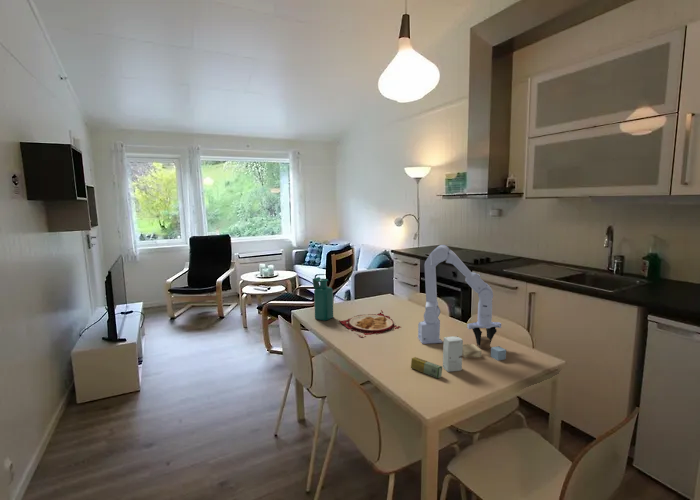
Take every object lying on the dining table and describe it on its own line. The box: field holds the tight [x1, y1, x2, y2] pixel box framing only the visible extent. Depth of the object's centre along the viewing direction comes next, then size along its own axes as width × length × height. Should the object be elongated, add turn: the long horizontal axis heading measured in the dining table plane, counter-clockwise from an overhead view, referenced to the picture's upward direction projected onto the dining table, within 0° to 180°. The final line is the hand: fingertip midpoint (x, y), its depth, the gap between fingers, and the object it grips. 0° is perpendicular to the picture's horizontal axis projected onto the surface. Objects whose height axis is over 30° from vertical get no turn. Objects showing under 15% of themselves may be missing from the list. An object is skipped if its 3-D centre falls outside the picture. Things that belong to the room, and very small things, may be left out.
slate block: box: [490, 345, 507, 362], centre depth 146 cm, size 4×4×4 cm
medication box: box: [410, 356, 443, 379], centre depth 134 cm, size 12×3×4 cm, turn 48°
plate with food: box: [338, 309, 402, 338], centre depth 185 cm, size 25×26×4 cm
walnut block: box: [476, 335, 491, 350], centre depth 156 cm, size 4×4×4 cm
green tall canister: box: [312, 276, 334, 322], centre depth 196 cm, size 10×8×22 cm
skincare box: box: [442, 335, 464, 373], centre depth 136 cm, size 6×4×12 cm
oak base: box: [462, 343, 482, 359], centre depth 150 cm, size 7×7×3 cm
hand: (483, 343), depth 157 cm, fingers closed on walnut block, 4 cm apart
